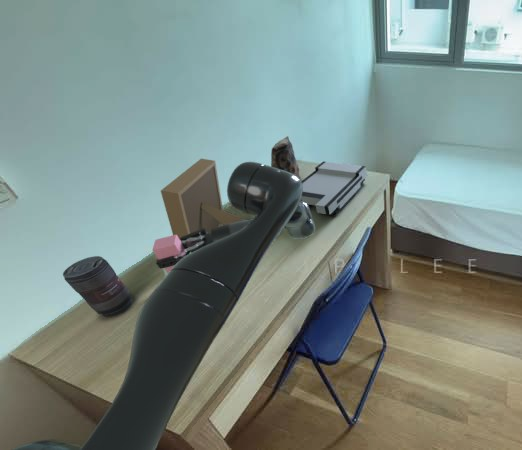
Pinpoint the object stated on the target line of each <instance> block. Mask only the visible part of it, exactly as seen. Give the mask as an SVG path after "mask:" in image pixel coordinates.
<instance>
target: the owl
mask: <svg viewBox="0 0 522 450" xmlns="http://www.w3.org/2000/svg"><path fill="white" fill-rule="evenodd" d="M270 153H271V154H270V158H271V159H270V160H271V161H270V166H271V167H274V168H277V169H280V170H283V171H286V172H289V173H291V174H293V175H295V176H297V177H298V178H299V179H300V180H301V177H300V167H299V164H298V162H297V159H296V155H295V151H294V147H293V143H292V142H291V140H290V138H289V135H288V136H285V137H284V138H281V139H280V140H279V141H277V142H276V143H275V144H274V145H273V146H272V147H271V152H270Z"/></svg>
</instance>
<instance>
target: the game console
mask: <svg viewBox="0 0 522 450" xmlns="http://www.w3.org/2000/svg"><path fill="white" fill-rule="evenodd" d="M314 169H315V170H314V171H313V172H311V173H310V174H309V175H307V177H305V178H304V179H301V182H302V185H303V192H302V196H301V200H300V201H304V202H306V203H307V204H308V206H309V208H311V207H312V206H315V210H316V213H317V214H322V215H326V216H327V215H328V216H335V217H336V216H338V214H339V213H340V212H341V211H342V210H343V209H344V208H345V207H346V205H347V204H348V203H350V201H351V200H352V199H353V198H354V197H355V196H356V195H357V193H358V192H359V191H361V190H362V188H363V187H364V185H365V184H364V182H365V181H366V178H367V177H368V174H367V166H366V165H358V164H348V163H340V162H333V161H322V162H320V163H318V165H317V166H315V167H314Z"/></svg>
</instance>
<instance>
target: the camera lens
mask: <svg viewBox="0 0 522 450" xmlns="http://www.w3.org/2000/svg"><path fill="white" fill-rule="evenodd" d="M62 276H63V278H64V281H65V282H66V283H67V284H68V285H69V286H70V287H71V288H72V289H73V290H74V291H75V292H76V293H77V294H79V296H80V297H81V298H82V299H83V300H84V301H85V302H86V304H87V305H88V306H89V307H90V308H91V309H92V310H93V311H94V312H96V313H97V314H99V315H101V316H103V317H104V318H114V317H117V316H120V315H121V314H124V313H125V312H126V311H127V310H129V309H130V308H131V307H132V305H133V304H134V300H133V297H132V293H131V292H130V290H129V288H128V287H127V285H126V284H125V283H124V282H123V281H122V280H121V278H120V277H118V275H117V273H116V272H115V270H114V268H113V267H112V265H111V264H110V263H109V262H108V260H106V259H104V257H102V256H99V255H95V256H89V257H86V258H83V259H79V260H78V261H76V262H74V263H72V264H71V265H70V266H68V267H67V268H66V269H64V271H63V272H62Z"/></svg>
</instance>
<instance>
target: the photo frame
mask: <svg viewBox="0 0 522 450" xmlns="http://www.w3.org/2000/svg"><path fill="white" fill-rule="evenodd" d="M219 183H220V182H219V176H218V170H217V163H216V160H212V159H207V158H200V159H199V160H197V161H196V162H195V163H193V164H192V165H191V166H190V167H188V168H186V170H185V171H183V172H182V173H181V174H179V175H178V176H177V177H175V178H174V179H173V180H172V181H171V182H170V183H168V184H167V185H166V186H165V187H163V188H162V189H161V190H160V194H161V197H162V201H163V204H164V208H165V212H166V215H167V219H168V222H169V226H170V230H171V233H172V235H176V234H177V236H178V238H179V239H180V238H181V237H183V236H185V235H188V234H190V233H193V232H195V231H198V230H201V229H204V228H205V229H206V231H207V233H208V234H210V233H211V230H212V229H213V228H216V227H220V226H224V225H228V224H231V223H235V222H239V221H245V219H243V217H242V216H239V215H236V214H233V213H231V212H228V211H226V210H224V209H223V201H222V196H221V188H220V184H219ZM190 238H193V237H190ZM180 240H181V239H180Z"/></svg>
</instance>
